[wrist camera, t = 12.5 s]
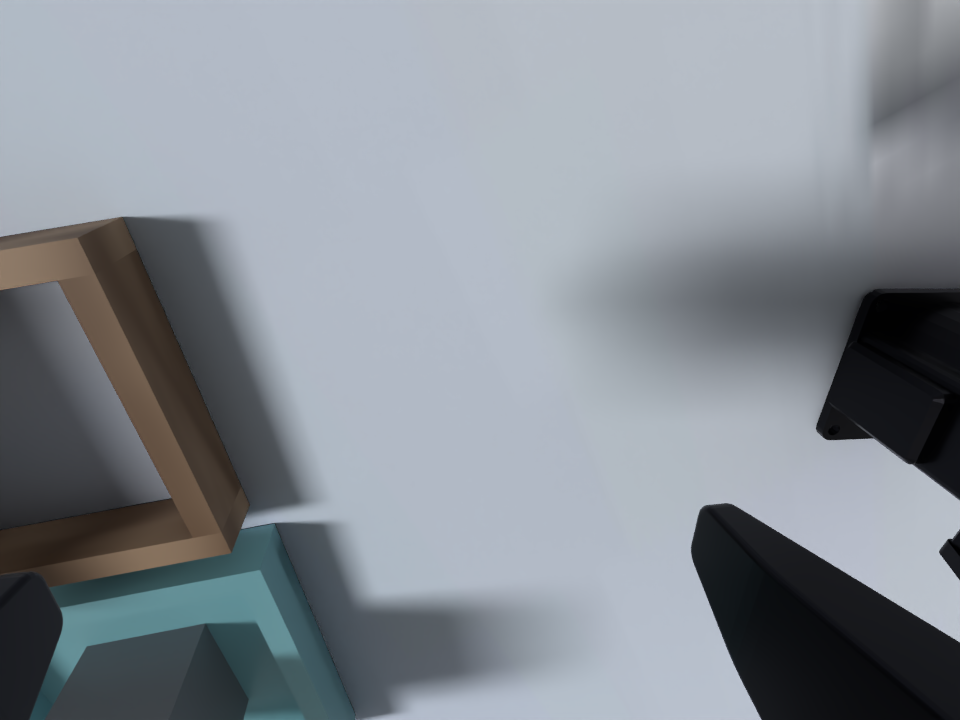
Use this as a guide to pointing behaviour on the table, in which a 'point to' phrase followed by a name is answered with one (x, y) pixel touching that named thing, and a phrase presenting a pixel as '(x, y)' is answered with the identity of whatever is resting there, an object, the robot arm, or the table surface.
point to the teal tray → (213, 626)
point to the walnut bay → (149, 404)
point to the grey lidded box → (153, 680)
